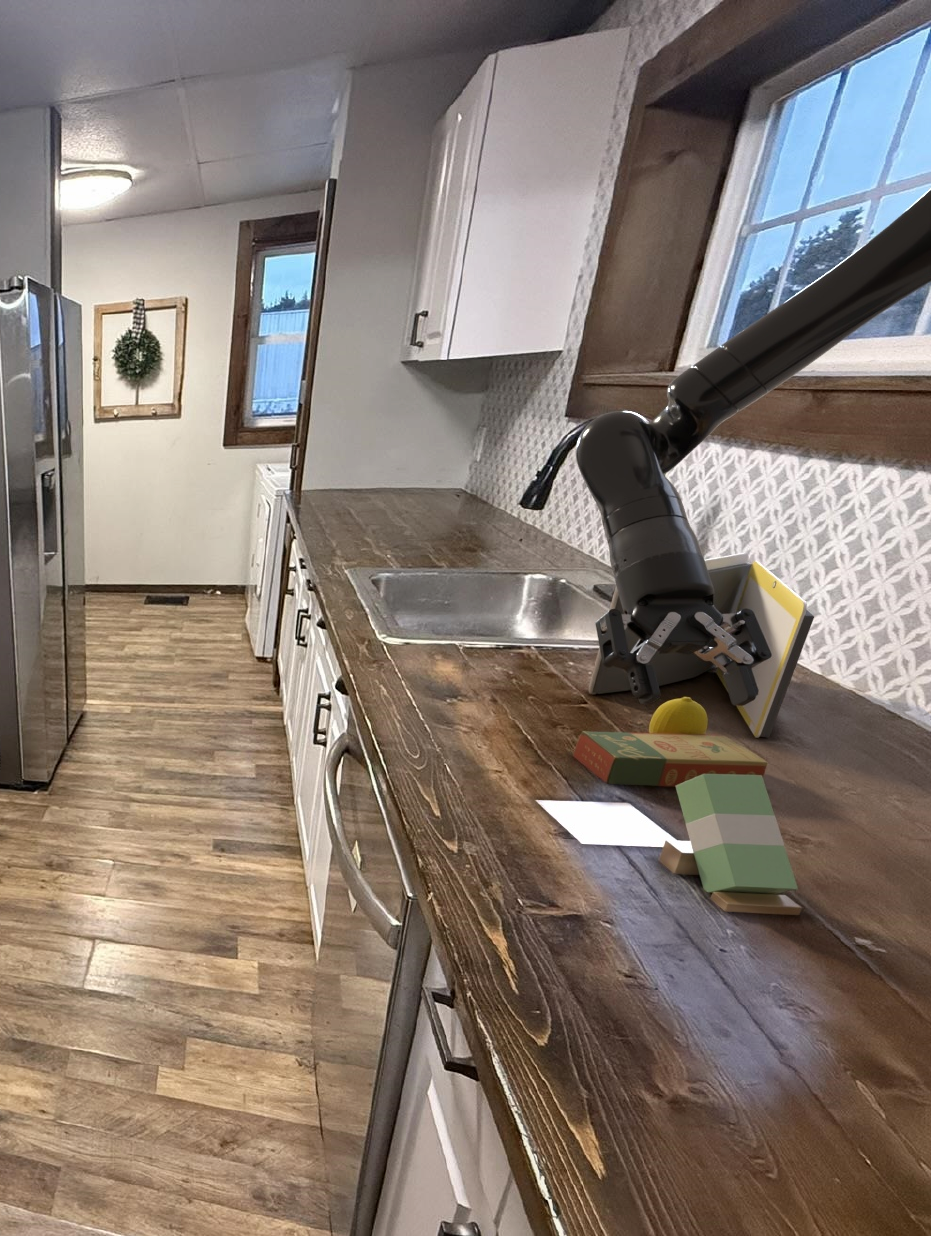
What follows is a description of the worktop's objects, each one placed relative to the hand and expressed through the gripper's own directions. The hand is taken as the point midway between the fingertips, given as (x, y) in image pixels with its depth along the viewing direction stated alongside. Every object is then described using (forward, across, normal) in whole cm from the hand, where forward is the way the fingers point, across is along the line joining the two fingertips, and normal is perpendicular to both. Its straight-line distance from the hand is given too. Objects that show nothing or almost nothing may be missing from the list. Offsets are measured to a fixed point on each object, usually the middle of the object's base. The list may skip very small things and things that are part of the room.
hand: (697, 702), depth 79 cm
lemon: (-4, +14, +26) cm, 30 cm away
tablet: (-21, +28, +43) cm, 55 cm away
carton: (+1, +9, +22) cm, 23 cm away
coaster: (+10, -4, +12) cm, 16 cm away
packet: (+14, 0, 0) cm, 14 cm away
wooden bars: (+19, 0, +3) cm, 19 cm away
